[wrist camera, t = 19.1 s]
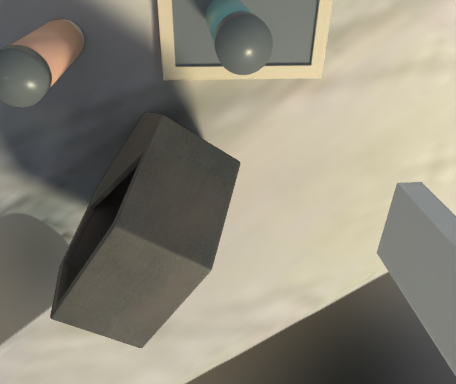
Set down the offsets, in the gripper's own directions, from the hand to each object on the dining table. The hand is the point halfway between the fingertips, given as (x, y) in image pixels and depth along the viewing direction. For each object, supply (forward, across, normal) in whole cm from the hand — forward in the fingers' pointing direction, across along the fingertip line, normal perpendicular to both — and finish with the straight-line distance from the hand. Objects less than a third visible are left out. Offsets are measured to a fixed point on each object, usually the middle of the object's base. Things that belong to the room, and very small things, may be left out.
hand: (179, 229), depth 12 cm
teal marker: (+28, +4, +2) cm, 28 cm away
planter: (+29, -4, -14) cm, 32 cm away
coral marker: (+29, -10, 0) cm, 30 cm away
